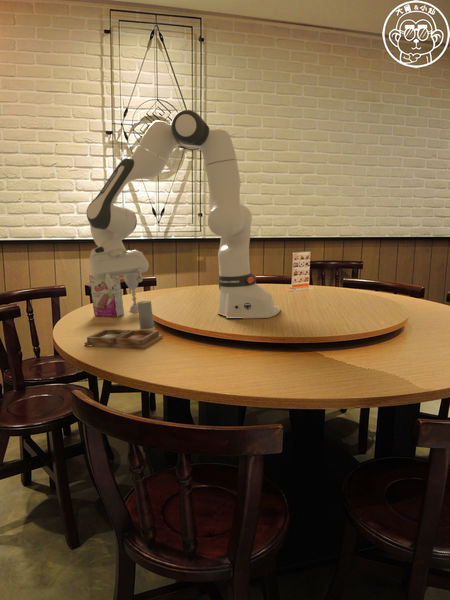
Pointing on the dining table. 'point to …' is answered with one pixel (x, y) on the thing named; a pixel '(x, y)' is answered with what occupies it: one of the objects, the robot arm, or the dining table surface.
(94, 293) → the candy bar box
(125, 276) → the chalice
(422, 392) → the dining table surface
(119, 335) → the wooden compartment tray
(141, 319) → the sleeve
